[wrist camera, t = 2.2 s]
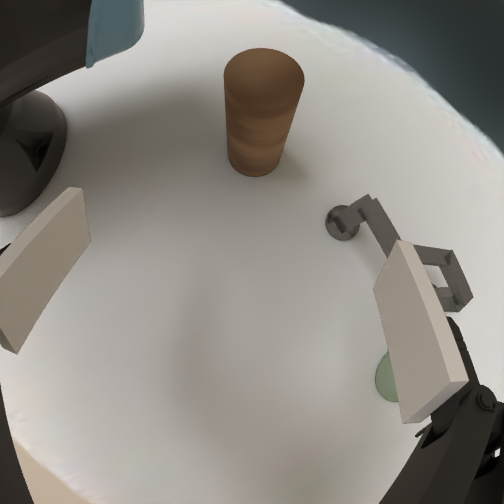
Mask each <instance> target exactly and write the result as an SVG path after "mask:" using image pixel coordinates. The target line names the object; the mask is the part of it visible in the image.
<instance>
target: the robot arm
mask: <svg viewBox="0 0 504 504" xmlns="http://www.w3.org/2000/svg"><path fill="white" fill-rule="evenodd" d="M143 31H144V4H143V0H0V216H9V215H12V214H15V213H17V212H19V211H21V210H22V209H24V208H25V207H27V206H28V205H29V204H30V203H32V202H33V201H34V200H35V199H36V198H37V197H38V196H39V194H40V193H41V192H42V191H43V190H44V188H45V187H46V185H47V184H48V183H49V181H50V179H51V178H52V176H53V174H54V172H55V170H56V168H57V166H58V164H59V162H60V159H61V156H62V153H63V150H64V146H65V140H66V122H65V117H64V115H63V112H62V111H61V109H60V108H59V107H58V105H57V104H56V103H55V102H54V101H53V100H52V99H51V98H50V97H49V96H47V95H46V94H44V93H42V92H39V91H36V90H35V89H37V88H39V87H41V86H43V85H45V84H47V83H49V82H51V81H53V80H55V79H57V78H60V77H62V76H64V75H66V74H68V73H71V72H73V71H75V70H78V69H80V68H82V67H85V66H86V68H91V67H92V66H93V65H94V63H96V62H98V61H100V60H103V59H105V58H108V57H110V56H113V55H115V54H118V53H120V52H123V51H125V50H128V49H129V48H131V47H132V46H134V45H135V44H136V43H137V42H138V41H139V39H140V38H141V36H142V34H143ZM90 242H91V239H90V233H89V228H88V222H87V215H86V209H85V202H84V195H83V188H75V187H68V188H67V189H66V190H65V191H63V192H62V193H61V194H60V195H59V196H58V197H57V198H56V199H55V200H54V201H53V202H52V203H50V204H49V205H48V206H47V207H46V208H45V209H44V210H43V211H42V212H41V213H40V214H39V215H38V216H37V217H36V218H35V219H34V220H33V221H32V222H31V223H30V224H29V225H28V226H27V227H26V228H25V229H24V230H23V231H22V232H21V234H20V235H19V236H18V237H17V238H16V239H15V240H14V241H13V242H12V243H9V244H8V245H6V246H5V247H4V248H2V249H1V250H0V344H1V346H2V347H3V348H4V349H6V350H8V351H11V352H13V353H15V354H18V352H19V351H20V349H21V347H22V345H23V343H24V342H25V340H26V338H27V336H28V335H29V333H30V331H31V330H32V328H33V326H34V325H35V323H36V321H37V320H38V318H39V316H40V315H41V313H42V312H43V310H44V308H45V307H46V305H47V304H48V302H49V300H50V299H51V297H52V296H53V294H54V293H55V291H56V290H57V288H58V287H59V285H60V284H61V282H62V281H63V279H64V278H65V276H66V275H67V274H68V272H69V271H70V269H71V268H72V266H73V265H74V264H75V262H76V261H77V259H78V258H79V257H80V255H81V254H82V253H83V251H84V250H85V248H86V247H87V246H88V244H89V243H90ZM373 291H374V295H375V298H376V302H377V306H378V310H379V313H380V317H381V321H382V325H383V329H384V334H385V338H386V342H387V346H388V351H389V355H390V360H391V365H392V369H393V374H394V379H395V384H396V390H397V395H398V400H399V406H400V412H401V418H402V424H407V423H420V422H422V421H423V420H424V419H425V418H427V417H428V416H429V415H431V420H432V422H431V423H430V424H429V425H427V426H426V427H425V428H423V429H422V430H420V431H419V432H418V433H417V434H416V435H415V437H418V436H420V435H421V434H423V435H422V437H421V439H420V440H419V442H418V444H417V446H416V447H415V449H414V451H413V453H412V454H411V456H410V458H409V459H408V461H407V463H406V464H405V466H404V467H403V469H402V470H401V472H400V474H399V475H398V477H397V478H396V480H395V481H394V483H393V484H392V486H391V487H390V489H389V490H388V491H387V493H386V494H385V496H384V497H383V498H382V500H381V501H380V503H379V504H504V403H502V402H499V401H497V400H496V397H495V395H494V393H493V392H492V391H491V390H490V389H489V388H488V387H486V386H484V385H480V384H479V381H478V378H477V375H476V372H475V369H474V366H473V363H472V361H471V358H470V355H469V352H468V351H467V347H466V344H465V342H464V341H463V337H462V334H461V332H460V329H459V327H458V326H457V325H456V323H455V322H454V321H453V319H452V318H451V317H447V316H445V313H444V311H443V309H442V306H441V304H440V302H439V299H438V297H437V295H436V292H435V290H434V288H433V286H432V284H431V281H430V279H429V277H428V275H427V273H426V271H425V269H424V266H423V264H422V262H421V260H420V258H419V256H418V254H417V252H416V250H415V248H414V246H413V244H412V243H410V242H405V241H400V240H396V242H395V244H394V246H393V248H392V251H391V253H390V255H389V257H388V259H387V261H386V263H385V265H384V267H383V269H382V271H381V273H380V275H379V277H378V279H377V281H376V283H375V285H374V287H373ZM499 448H500V455H499V456H497V457H495V451H496V450H498V449H499ZM0 504H34V502H33V500H32V497H31V495H30V492H29V490H28V487H27V484H26V482H25V479H24V477H23V473H22V470H21V467H20V464H19V461H18V458H17V455H16V451H15V448H14V445H13V441H12V437H11V433H10V429H9V425H8V421H7V416H6V412H5V407H4V402H3V397H2V391H1V385H0Z"/></svg>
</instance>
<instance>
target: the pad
mask: <svg viewBox="0 0 504 504" xmlns="http://www.w3.org/2000/svg"><path fill="white" fill-rule="evenodd" d="M375 382H376V387H377V390H378V392H379V393H380V395H381V396H382V397H384V398H385V399H386V400H388V401H391V402H399V400H398V395H397V390H396V384H395V379H394V374H393V369H392V365H391V360H390V355H389V352H387V353H386V354H385V356H384V357H383V358H382V360H381V361H380V363H379V365H378V368H377V371H376V377H375Z"/></svg>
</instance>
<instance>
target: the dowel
mask: <svg viewBox="0 0 504 504" xmlns="http://www.w3.org/2000/svg"><path fill="white" fill-rule="evenodd" d="M304 81H305V80H304V73H303V71H302V69H301V67H300V66H299V64H298V63H297V62H296V61H295V60H294V59H293V58H291V57H290V56H288V55H287V54H285V53H283V52H280V51H277V50H273V49H267V48H256V49H250V50H246V51H243V52H241V53H239V54H237V55H236V56H234V57H233V58H232V59H231V60H230V61H229V62H228V64H227V65H226V67H225V70H224V91H225V111H226V130H227V148H228V158H229V161H230V163H231V165H232V166H233V167H234V168H235V170H237V171H238V172H240V173H241V174H243V175H246V176H251V177H259V176H263V175H266V174H268V173H270V172H271V171H272V170H274V169H275V167H276V166H277V165H278V163H279V160H280V157H281V154H282V151H283V148H284V145H285V141H286V138H287V135H288V132H289V129H290V126H291V123H292V120H293V117H294V114H295V111H296V108H297V105H298V102H299V99H300V96H301V93H302V90H303V87H304Z"/></svg>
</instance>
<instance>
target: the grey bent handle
mask: <svg viewBox="0 0 504 504" xmlns="http://www.w3.org/2000/svg"><path fill="white" fill-rule="evenodd" d="M365 220H366V222H367V224H368V225H369V227H370V229H371V231H372V232H373V234H374V236H375V237H376V239H377V241H378V243H379V244H380V246H381V248H382V250H383V251H384V253H385V255H386V257H387V258H388V257H389V255H390V253H391V251H392V248H393V246H394V244H395V242H396V240H400V241H402V240H401V239H400V237H399V235H398V233H397V232H396V230H395V228H394V226H393V225H392V223H391V221H390V219H389V218H388V216H387V214H386V213H385V211H384V209H383V208H382V206H381V204H380V203H379V201H378V200H377V198H375V199H373V200H372V199H371V197H370V196H369V194H367V195H365V196H364V197H362V198H360V199H359V200H357V201H355V202H354V203H352V204H351V205H350V206H345V205H339V206H336V207H334V208H333V209H332V210H331V211H330V212H329V213H328V214H327V217H326V228H327V230H328V232H329V234H330V235H331V236H332V237H334V238H335V239H338V240H348V239H350V238H352V237H354V236H355V235H356V234H357V232H358V230H359V227H360V223H362V222H364V221H365ZM413 246H414V248H415V250H416V252H417V254H418V256H419V258H420V260H421V262H422V264H425V265H433V266H439V267H440V269H441V271H442V274H443V276H444V278H445V280H446V282H447V284H448V286H449V287H439V288H437V287H436V286H435V285H434V284H432V283H431V284H432V286H433V288H434V290H435V292H436V295H437V297H438V299H439V302H440V304H441V306H442V309H443V311H444V312H460V311H461V310H462V309H463V308H464V307H465V306H466V305H467V304H468V303H469V301H470V300H471V299H472V298H473V295H472V292H471V290H470V287H469V285H468V283H467V280H466V278H465V276H464V274H463V271H462V269H461V267H460V265H459V263H458V260H457V258H456V256H455V254H454V252H453V250H445V249H439V248H432V247H425V246H419V245H413Z"/></svg>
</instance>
